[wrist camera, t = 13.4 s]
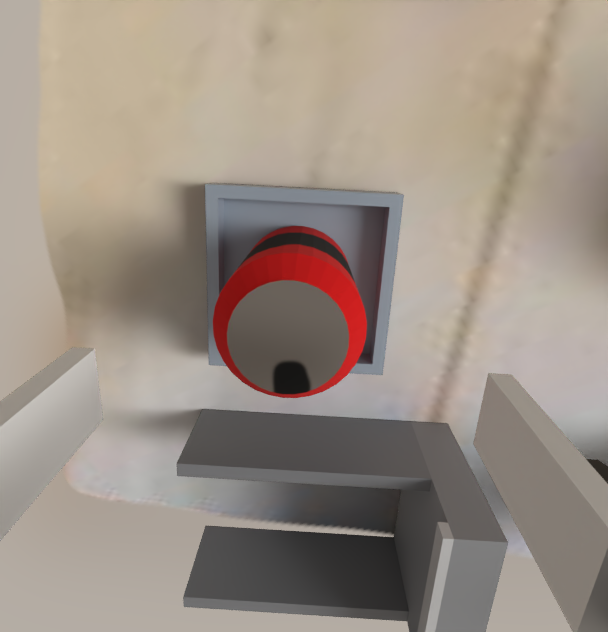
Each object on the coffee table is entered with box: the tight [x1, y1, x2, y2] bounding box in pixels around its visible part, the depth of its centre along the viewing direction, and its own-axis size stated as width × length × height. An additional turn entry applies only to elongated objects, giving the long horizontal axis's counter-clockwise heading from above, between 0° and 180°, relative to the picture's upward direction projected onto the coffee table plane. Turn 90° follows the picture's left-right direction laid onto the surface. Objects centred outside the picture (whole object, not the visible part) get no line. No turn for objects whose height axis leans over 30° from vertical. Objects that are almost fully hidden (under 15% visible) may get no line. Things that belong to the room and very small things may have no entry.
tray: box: [205, 183, 404, 375], centre depth 31 cm, size 13×13×2 cm
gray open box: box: [177, 409, 508, 632], centre depth 32 cm, size 13×20×12 cm, turn 87°
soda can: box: [213, 226, 367, 398], centre depth 26 cm, size 8×8×12 cm
